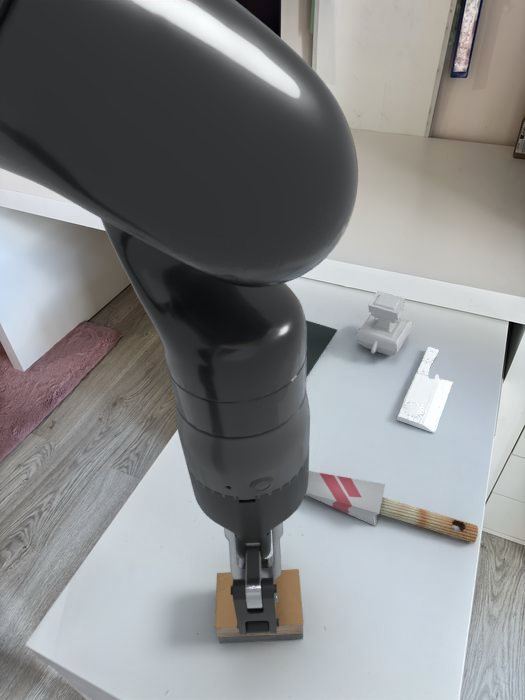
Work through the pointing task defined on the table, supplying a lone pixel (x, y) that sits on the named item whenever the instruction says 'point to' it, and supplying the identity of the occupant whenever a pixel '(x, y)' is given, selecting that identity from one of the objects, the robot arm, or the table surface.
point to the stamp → (384, 325)
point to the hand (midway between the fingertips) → (259, 559)
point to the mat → (317, 342)
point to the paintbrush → (380, 505)
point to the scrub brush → (285, 610)
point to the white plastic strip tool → (425, 396)
